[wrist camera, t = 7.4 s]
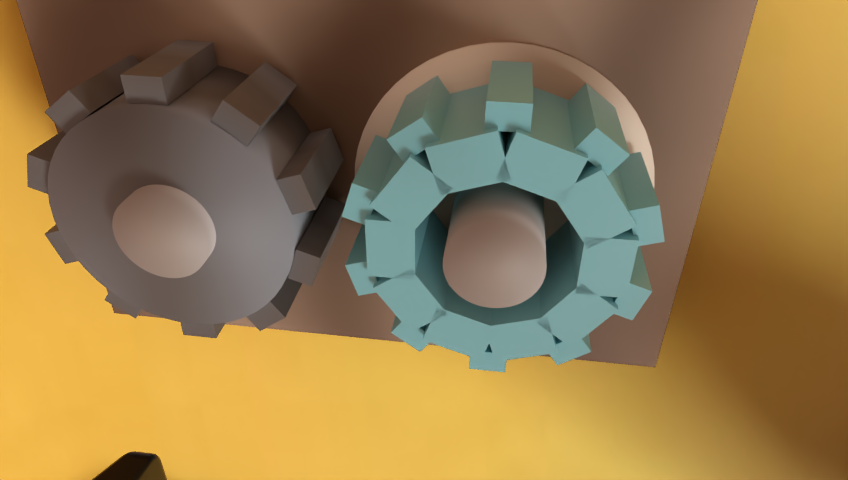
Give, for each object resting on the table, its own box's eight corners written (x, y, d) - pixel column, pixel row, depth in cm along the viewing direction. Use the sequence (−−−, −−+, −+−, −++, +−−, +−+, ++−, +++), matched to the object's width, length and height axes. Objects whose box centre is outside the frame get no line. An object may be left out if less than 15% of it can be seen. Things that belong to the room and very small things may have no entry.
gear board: (745, -43, 14) (833, 10, 10) (647, 333, 20) (678, 464, 16) (38, -68, 16) (-131, -31, 12) (137, 285, 22) (46, 391, 18)
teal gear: (669, 66, 14) (699, 116, 12) (616, 312, 18) (630, 390, 16) (363, 51, 15) (330, 95, 13) (372, 291, 19) (349, 362, 16)
